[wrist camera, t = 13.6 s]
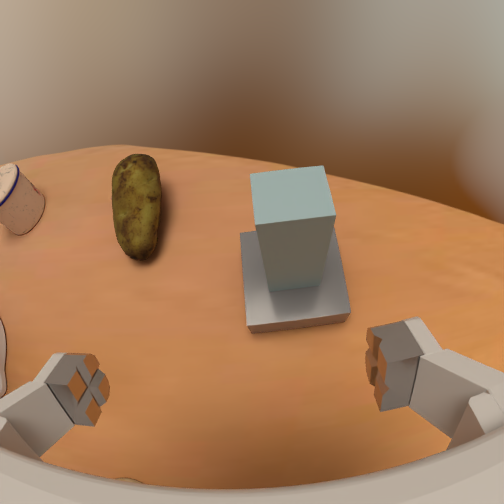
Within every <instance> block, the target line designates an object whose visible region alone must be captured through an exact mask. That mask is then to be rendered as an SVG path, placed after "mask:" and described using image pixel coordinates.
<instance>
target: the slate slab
mask: <svg viewBox="0 0 504 504" xmlns="http://www.w3.org/2000/svg"><path fill="white" fill-rule="evenodd" d="M240 240H241V254H242V267H243V281H244V294H245V307H246V320H247V327H248V328H249V330H250V331H251V333H261V332H270V331H279V330H288V329H296V328H304V327H311V326H319V325H326V324H333V323H339V322H345V320H346V319H347V318H348V316H349V315H350V313H351V309H350V303H349V298H348V292H347V287H346V282H345V277H344V272H343V267H342V262H341V257H340V252H339V247H338V243H337V238H336V234H335V229H334V227H333V232H332V237H331V241H330V245H329V250H328V254H327V258H326V263H325V267H324V271H323V275H322V279H321V283H320V285H319V286H312V287H304V288H296V289H288V290H280V291H272V292H269V289H268V284H267V279H266V274H265V270H264V265H263V260H262V255H261V250H260V246H259V241H258V236H257V231H252V232H244V233H240Z"/></svg>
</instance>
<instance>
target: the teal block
mask: <svg viewBox="0 0 504 504" xmlns="http://www.w3.org/2000/svg"><path fill="white" fill-rule="evenodd" d="M250 179H251V189H252V199H253V208H254V218H255V226H256V231H257V236H258V241H259V246H260V250H261V255H262V260H263V265H264V270H265V274H266V279H267V284H268V289H269V292H272V291H280V290H288V289H296V288H304V287H312V286H319V285H320V283H321V279H322V275H323V271H324V267H325V263H326V258H327V254H328V250H329V245H330V241H331V237H332V232H333V227H334V223H335V218H336V212H335V208H334V204H333V201H332V197H331V193H330V189H329V185H328V182H327V178H326V174H325V171H324V167H323V166H314V167H305V168H295V169H286V170H278V171H269V172H262V173H254V174H250Z"/></svg>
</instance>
